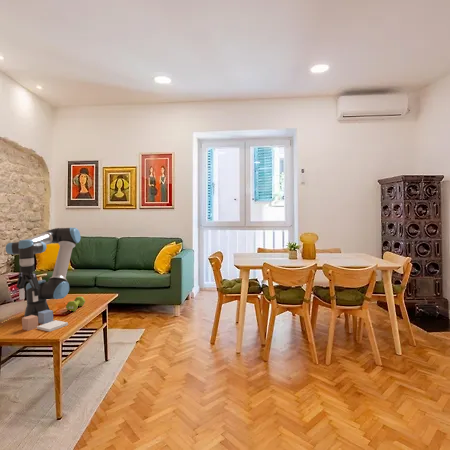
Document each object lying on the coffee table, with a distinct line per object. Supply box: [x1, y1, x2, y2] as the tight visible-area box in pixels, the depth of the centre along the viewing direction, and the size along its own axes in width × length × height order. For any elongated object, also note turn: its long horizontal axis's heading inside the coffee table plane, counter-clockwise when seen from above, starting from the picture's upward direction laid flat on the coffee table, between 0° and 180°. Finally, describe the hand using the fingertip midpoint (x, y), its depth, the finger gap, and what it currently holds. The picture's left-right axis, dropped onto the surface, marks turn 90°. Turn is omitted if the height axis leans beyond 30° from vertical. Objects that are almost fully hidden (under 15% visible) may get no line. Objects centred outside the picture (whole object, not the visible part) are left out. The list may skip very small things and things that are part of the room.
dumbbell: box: [65, 296, 86, 313], centre depth 230 cm, size 16×8×7 cm, turn 2°
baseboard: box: [36, 319, 69, 333], centre depth 192 cm, size 12×12×2 cm
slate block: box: [38, 309, 54, 325], centre depth 202 cm, size 6×6×7 cm
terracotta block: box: [21, 315, 39, 332], centre depth 191 cm, size 6×6×7 cm
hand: (28, 300), depth 190 cm, fingers open, 13 cm apart
